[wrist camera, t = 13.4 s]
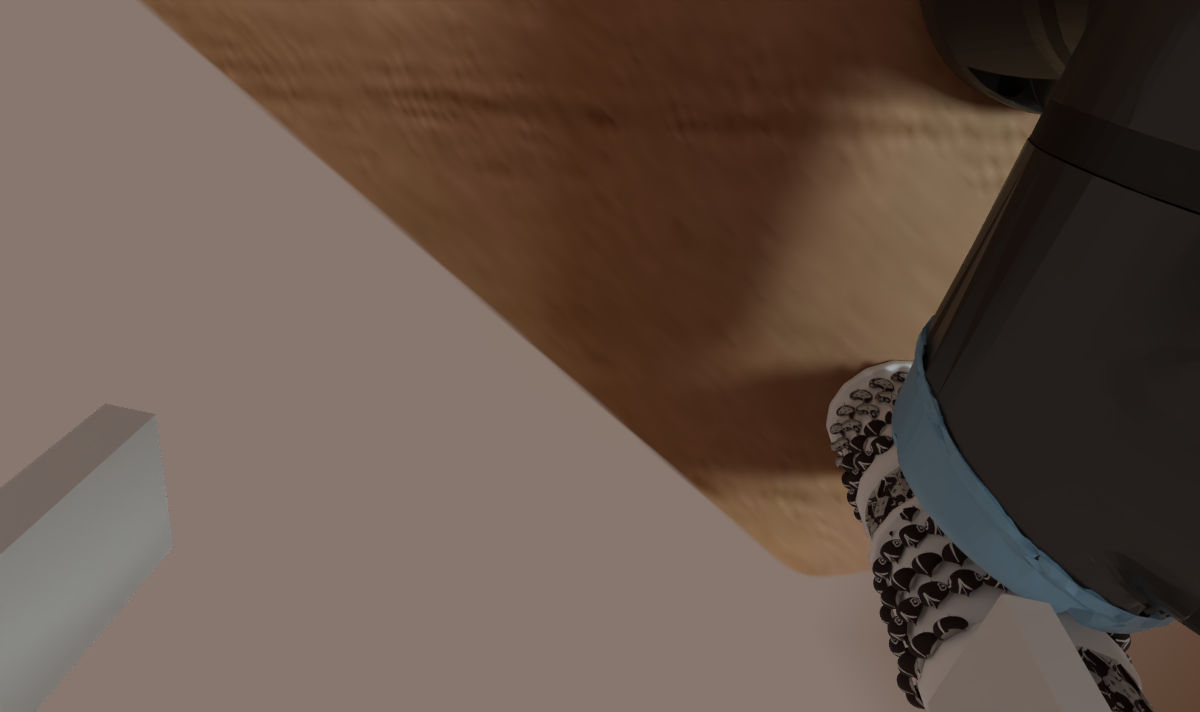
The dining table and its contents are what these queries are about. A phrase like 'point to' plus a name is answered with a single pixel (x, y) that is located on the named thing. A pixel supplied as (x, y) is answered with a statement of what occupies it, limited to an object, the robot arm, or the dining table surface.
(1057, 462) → the robot arm
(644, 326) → the dining table surface
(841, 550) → the dining table surface
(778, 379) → the dining table surface
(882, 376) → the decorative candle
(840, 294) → the dining table surface
